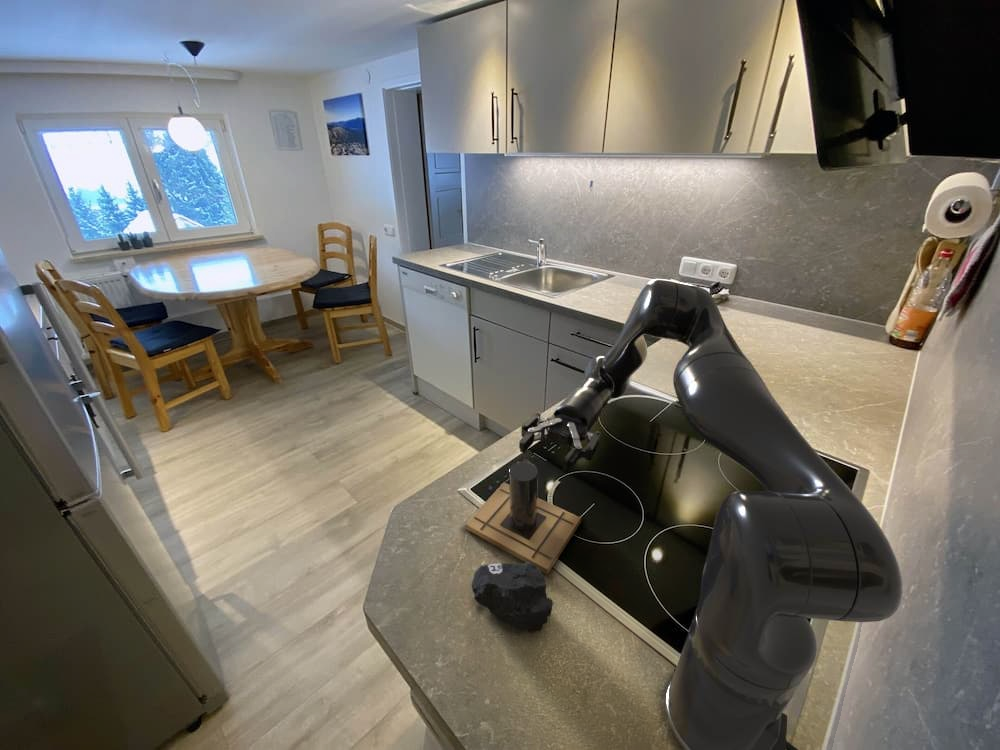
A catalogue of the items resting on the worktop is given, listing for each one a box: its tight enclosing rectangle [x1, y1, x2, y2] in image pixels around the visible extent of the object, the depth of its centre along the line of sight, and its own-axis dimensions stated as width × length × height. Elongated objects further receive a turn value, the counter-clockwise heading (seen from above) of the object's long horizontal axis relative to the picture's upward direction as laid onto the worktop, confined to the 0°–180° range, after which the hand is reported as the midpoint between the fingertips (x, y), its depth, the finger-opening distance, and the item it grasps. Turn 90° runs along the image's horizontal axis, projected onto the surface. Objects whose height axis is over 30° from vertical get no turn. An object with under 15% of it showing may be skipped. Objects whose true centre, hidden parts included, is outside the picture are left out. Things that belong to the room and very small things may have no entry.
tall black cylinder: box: [508, 461, 539, 530], centre depth 68 cm, size 5×5×11 cm
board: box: [464, 482, 582, 575], centre depth 71 cm, size 16×12×1 cm
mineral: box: [471, 562, 554, 634], centre depth 58 cm, size 10×9×6 cm
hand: (543, 456), depth 72 cm, fingers open, 8 cm apart
